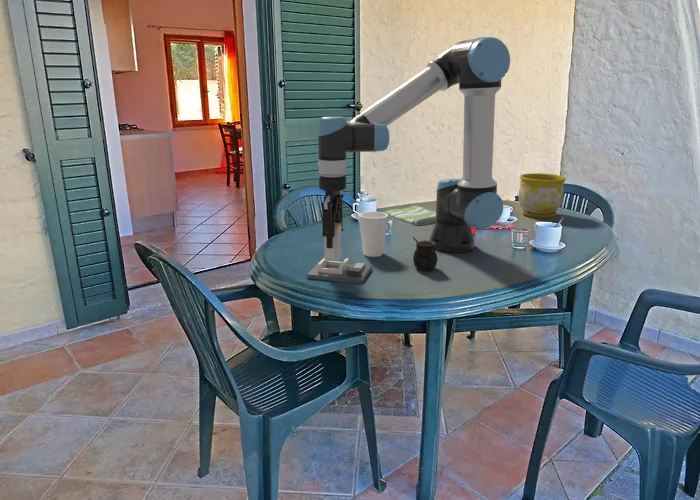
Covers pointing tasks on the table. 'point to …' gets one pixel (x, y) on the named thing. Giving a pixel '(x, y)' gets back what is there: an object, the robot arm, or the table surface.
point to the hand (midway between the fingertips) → (333, 255)
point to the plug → (338, 242)
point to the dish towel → (413, 215)
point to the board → (340, 271)
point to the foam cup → (373, 232)
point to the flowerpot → (540, 194)
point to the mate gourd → (425, 255)
